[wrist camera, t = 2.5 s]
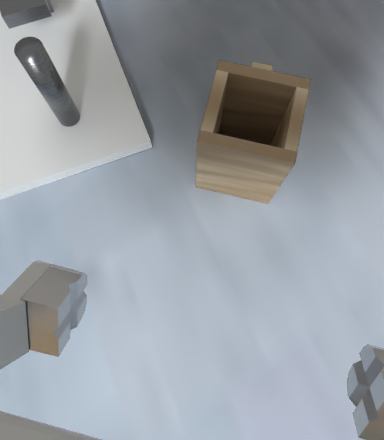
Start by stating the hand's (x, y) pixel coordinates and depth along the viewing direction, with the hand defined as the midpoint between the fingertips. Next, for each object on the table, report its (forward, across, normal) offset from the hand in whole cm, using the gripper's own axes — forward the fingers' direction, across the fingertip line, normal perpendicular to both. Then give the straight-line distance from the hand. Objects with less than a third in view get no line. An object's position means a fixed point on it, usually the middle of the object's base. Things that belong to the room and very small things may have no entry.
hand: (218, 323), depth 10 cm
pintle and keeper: (+21, +16, -2) cm, 27 cm away
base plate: (+20, +16, 0) cm, 26 cm away
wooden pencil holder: (+20, 0, 0) cm, 20 cm away
